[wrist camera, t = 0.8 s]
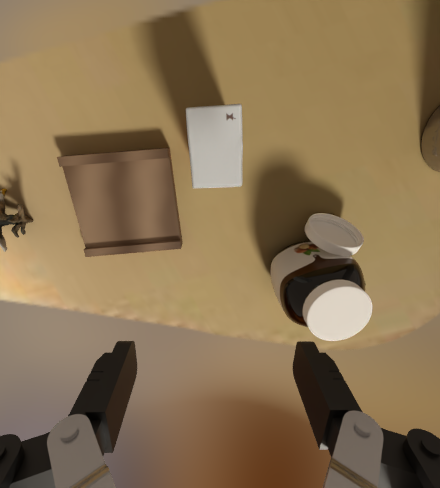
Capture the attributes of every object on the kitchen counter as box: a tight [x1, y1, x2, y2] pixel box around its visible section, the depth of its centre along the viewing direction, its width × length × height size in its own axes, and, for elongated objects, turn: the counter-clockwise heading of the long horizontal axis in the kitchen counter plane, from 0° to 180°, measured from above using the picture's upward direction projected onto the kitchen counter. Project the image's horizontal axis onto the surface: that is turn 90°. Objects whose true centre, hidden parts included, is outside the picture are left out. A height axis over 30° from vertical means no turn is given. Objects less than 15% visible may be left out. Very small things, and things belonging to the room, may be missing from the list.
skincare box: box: [186, 104, 243, 188], centre depth 26 cm, size 6×4×12 cm
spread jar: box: [271, 213, 372, 341], centre depth 32 cm, size 12×11×12 cm
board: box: [57, 148, 182, 257], centre depth 32 cm, size 12×12×2 cm
